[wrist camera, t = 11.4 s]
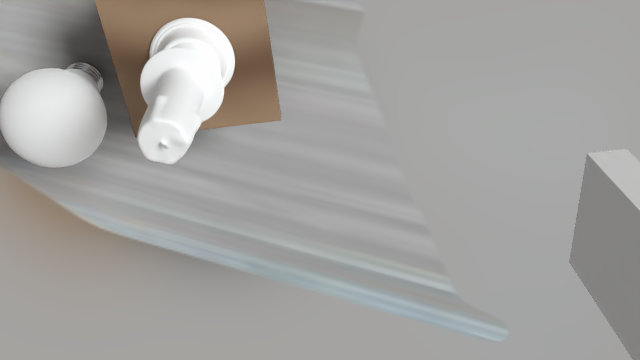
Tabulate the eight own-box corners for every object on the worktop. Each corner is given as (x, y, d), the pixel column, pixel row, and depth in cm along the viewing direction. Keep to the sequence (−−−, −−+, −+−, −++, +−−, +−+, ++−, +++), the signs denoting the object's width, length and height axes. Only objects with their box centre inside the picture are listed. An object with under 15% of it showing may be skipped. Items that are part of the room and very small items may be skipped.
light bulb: (137, 113, 48) (102, 184, 38) (54, 115, 47) (-2, 188, 38) (121, 33, 44) (79, 90, 35) (32, 35, 44) (-35, 93, 35)
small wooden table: (122, -40, 42) (90, -12, 35) (262, -56, 41) (258, -32, 35) (156, 91, 47) (135, 137, 40) (280, 76, 47) (280, 120, 40)
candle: (229, 14, 36) (209, 91, 26) (239, 94, 39) (225, 192, 29) (142, 19, 36) (86, 99, 26) (158, 100, 39) (114, 200, 28)
